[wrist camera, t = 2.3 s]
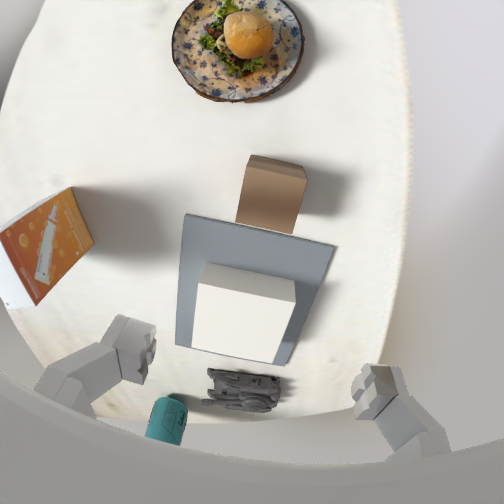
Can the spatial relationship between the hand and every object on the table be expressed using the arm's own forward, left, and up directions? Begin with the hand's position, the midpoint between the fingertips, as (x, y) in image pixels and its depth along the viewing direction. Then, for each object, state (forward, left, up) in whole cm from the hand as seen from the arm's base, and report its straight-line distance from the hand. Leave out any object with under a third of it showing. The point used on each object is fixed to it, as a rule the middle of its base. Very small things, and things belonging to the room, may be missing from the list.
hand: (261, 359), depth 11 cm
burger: (-13, -6, -22) cm, 26 cm away
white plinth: (+15, 0, -21) cm, 26 cm away
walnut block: (0, 0, -21) cm, 21 cm away
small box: (+9, -24, -21) cm, 33 cm away
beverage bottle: (+42, -8, -21) cm, 48 cm away
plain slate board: (+15, 0, -21) cm, 26 cm away
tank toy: (+32, +3, -22) cm, 39 cm away
